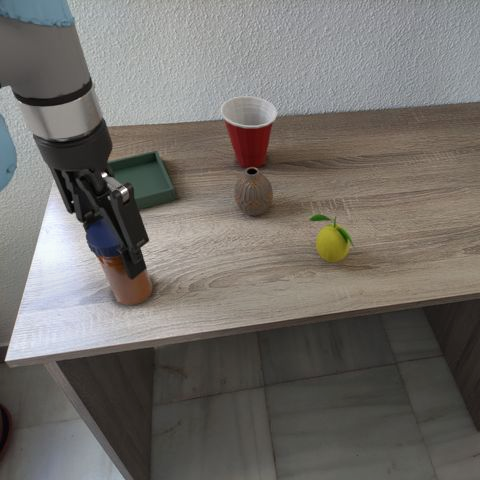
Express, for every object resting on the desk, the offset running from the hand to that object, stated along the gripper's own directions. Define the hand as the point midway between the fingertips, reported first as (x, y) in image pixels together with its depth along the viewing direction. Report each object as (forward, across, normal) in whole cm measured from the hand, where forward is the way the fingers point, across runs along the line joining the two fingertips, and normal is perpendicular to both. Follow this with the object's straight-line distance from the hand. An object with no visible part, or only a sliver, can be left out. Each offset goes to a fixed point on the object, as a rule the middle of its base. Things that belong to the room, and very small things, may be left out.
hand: (121, 262), depth 68 cm
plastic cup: (+7, +6, -37) cm, 38 cm away
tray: (+7, +20, -16) cm, 26 cm away
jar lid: (-6, 0, 0) cm, 6 cm away
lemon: (+7, -22, -24) cm, 33 cm away
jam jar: (+7, 0, 0) cm, 7 cm away
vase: (+7, -3, -26) cm, 27 cm away
